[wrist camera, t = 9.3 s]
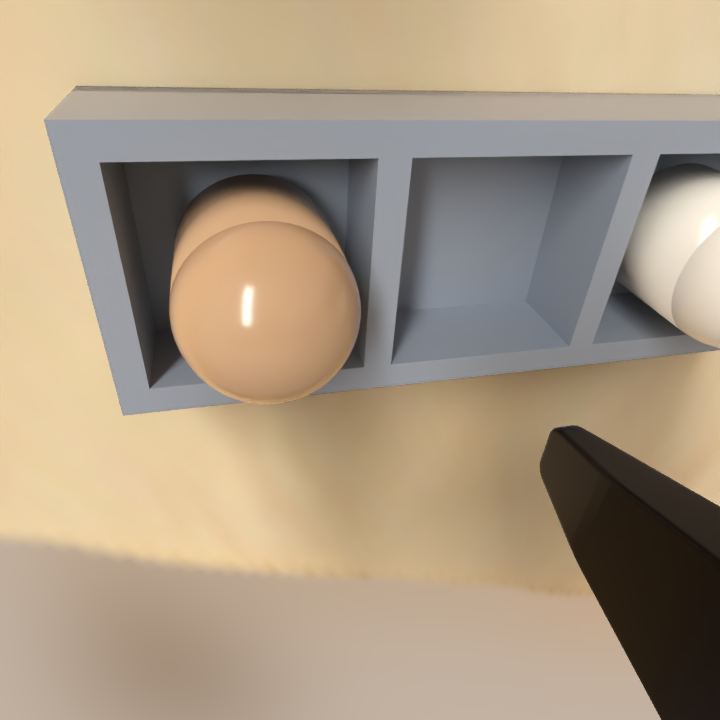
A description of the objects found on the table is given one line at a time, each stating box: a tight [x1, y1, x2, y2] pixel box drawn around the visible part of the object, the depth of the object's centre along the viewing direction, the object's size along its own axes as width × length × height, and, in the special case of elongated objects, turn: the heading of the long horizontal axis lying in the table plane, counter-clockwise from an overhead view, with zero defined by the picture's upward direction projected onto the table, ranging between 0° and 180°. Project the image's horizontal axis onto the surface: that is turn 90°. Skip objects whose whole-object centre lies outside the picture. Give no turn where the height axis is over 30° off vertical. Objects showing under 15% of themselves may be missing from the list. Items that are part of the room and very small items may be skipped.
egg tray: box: [44, 86, 720, 415], centre depth 16 cm, size 21×7×4 cm, turn 87°
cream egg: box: [615, 163, 720, 348], centre depth 16 cm, size 4×4×6 cm
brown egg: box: [169, 174, 361, 405], centre depth 13 cm, size 4×4×6 cm
